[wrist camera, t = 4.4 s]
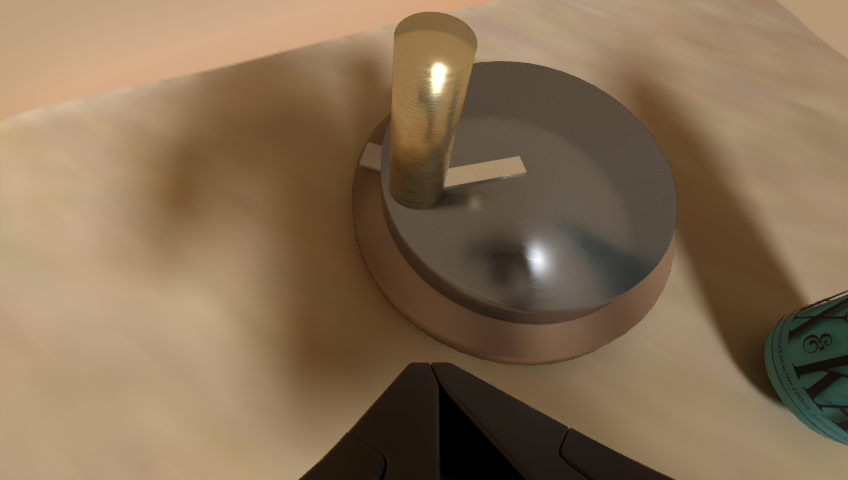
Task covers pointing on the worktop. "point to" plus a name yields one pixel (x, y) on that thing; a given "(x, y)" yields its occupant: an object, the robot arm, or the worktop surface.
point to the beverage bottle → (813, 366)
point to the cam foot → (517, 181)
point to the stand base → (465, 325)
